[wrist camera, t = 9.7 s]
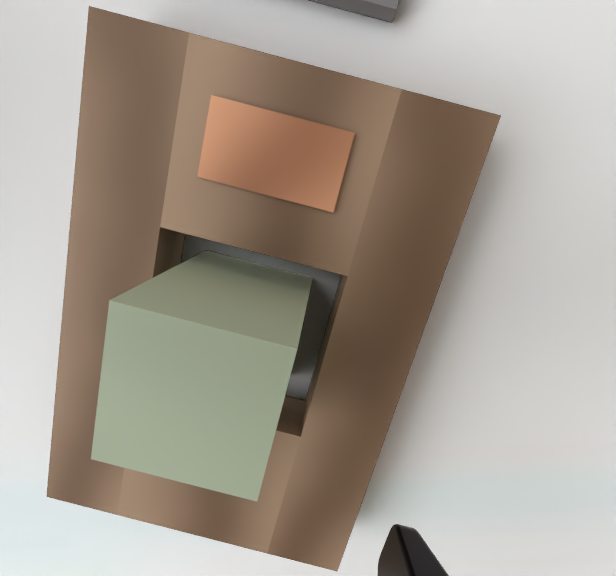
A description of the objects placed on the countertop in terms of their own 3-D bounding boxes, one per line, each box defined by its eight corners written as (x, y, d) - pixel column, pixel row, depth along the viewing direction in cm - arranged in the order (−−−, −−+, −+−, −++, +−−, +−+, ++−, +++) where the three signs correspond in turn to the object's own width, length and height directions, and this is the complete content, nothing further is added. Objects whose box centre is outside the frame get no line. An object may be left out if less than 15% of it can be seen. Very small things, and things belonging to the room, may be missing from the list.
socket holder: (84, 455, 18) (43, 500, 16) (132, 37, 14) (84, 2, 11) (336, 520, 18) (337, 575, 16) (471, 127, 14) (503, 114, 11)
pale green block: (188, 348, 17) (90, 459, 10) (206, 250, 16) (109, 300, 9) (287, 373, 17) (256, 501, 10) (312, 277, 16) (297, 348, 9)
